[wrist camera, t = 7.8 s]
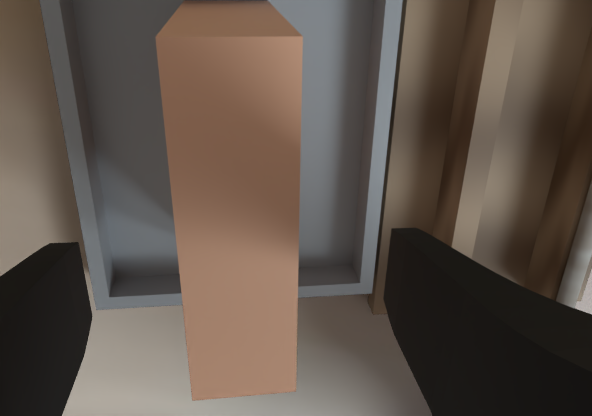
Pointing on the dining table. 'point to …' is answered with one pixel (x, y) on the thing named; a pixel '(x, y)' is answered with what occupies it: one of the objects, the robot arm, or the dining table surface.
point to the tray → (153, 151)
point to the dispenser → (494, 139)
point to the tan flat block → (235, 190)
